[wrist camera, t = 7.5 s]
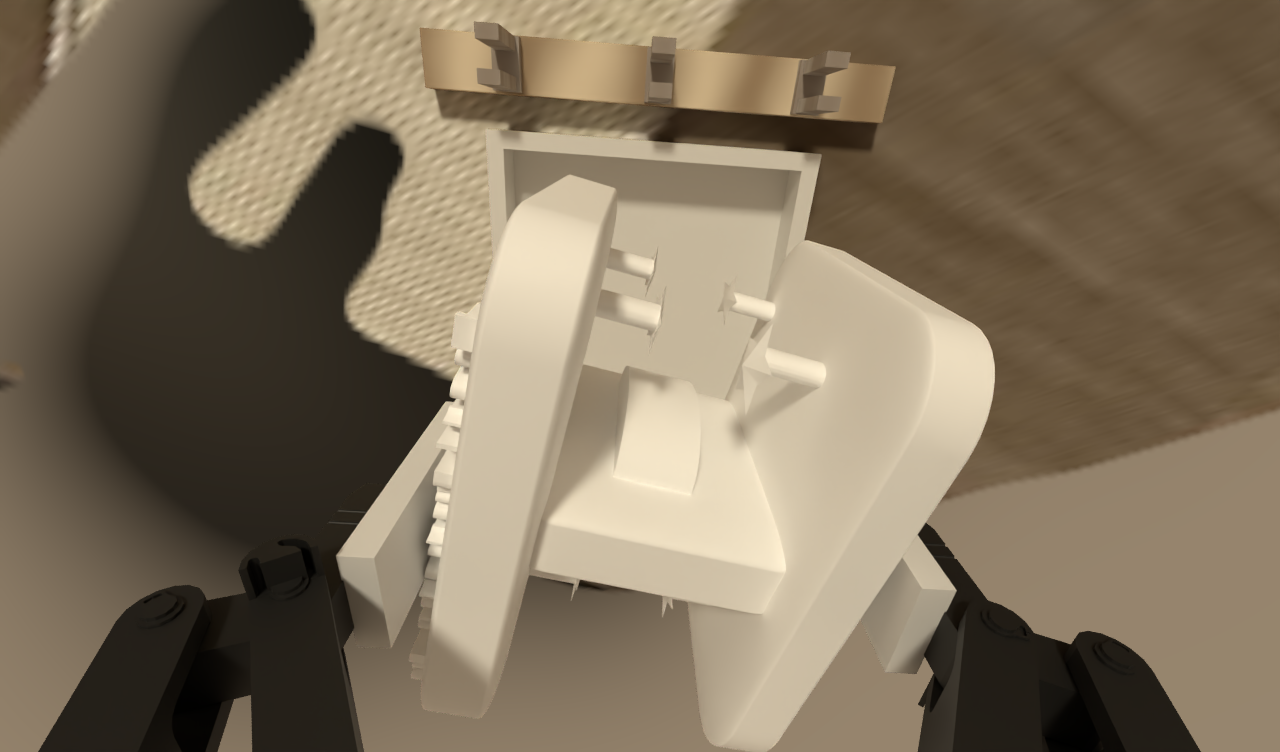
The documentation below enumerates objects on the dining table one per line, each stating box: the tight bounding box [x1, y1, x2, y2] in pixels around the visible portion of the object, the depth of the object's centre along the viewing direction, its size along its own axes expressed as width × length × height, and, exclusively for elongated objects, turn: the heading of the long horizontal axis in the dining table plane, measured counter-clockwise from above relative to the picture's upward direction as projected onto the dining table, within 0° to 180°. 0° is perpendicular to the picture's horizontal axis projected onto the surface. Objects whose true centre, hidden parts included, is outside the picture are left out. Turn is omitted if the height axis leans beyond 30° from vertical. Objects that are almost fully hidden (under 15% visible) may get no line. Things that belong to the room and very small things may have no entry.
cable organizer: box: [409, 175, 995, 752], centre depth 17 cm, size 15×11×12 cm
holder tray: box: [485, 129, 822, 400], centre depth 36 cm, size 20×22×4 cm
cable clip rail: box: [420, 22, 896, 123], centre depth 29 cm, size 28×3×6 cm, turn 86°
